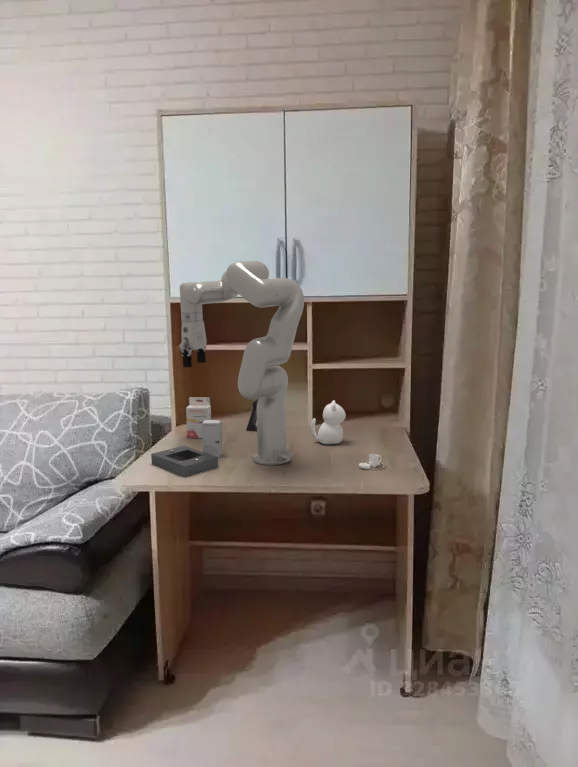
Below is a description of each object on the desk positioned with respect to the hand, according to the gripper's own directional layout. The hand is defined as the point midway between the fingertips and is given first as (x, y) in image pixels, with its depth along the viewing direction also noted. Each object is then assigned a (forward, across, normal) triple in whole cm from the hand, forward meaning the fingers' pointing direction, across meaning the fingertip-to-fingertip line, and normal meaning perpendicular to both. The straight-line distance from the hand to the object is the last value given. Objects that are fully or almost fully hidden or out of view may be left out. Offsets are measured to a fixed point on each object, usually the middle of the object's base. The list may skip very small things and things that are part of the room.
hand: (194, 364), depth 245 cm
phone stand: (+28, +21, -15) cm, 38 cm away
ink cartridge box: (+28, +4, +2) cm, 29 cm away
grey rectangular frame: (+28, -28, -11) cm, 41 cm away
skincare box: (+29, -15, -14) cm, 35 cm away
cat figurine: (+29, +12, -46) cm, 56 cm away
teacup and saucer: (+30, -8, -66) cm, 73 cm away
